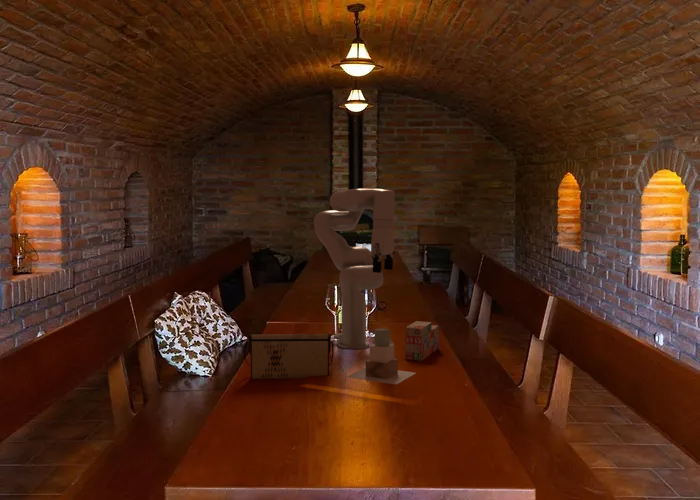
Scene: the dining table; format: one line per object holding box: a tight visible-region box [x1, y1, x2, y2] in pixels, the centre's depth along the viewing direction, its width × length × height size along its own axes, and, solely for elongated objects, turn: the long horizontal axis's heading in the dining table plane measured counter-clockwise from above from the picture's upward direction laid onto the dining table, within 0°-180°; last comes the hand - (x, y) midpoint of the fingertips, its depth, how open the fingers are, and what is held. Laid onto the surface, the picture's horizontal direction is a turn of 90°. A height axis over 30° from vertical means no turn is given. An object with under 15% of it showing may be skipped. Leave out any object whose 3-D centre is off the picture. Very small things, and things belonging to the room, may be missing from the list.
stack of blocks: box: [404, 320, 440, 362], centre depth 278 cm, size 21×6×12 cm, turn 156°
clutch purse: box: [243, 333, 335, 380], centre depth 245 cm, size 30×7×15 cm, turn 94°
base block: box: [365, 357, 399, 379], centre depth 244 cm, size 8×8×5 cm
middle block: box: [369, 343, 395, 363], centre depth 244 cm, size 6×6×5 cm
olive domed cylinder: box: [374, 328, 391, 347], centre depth 243 cm, size 5×5×5 cm
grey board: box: [346, 366, 417, 385], centre depth 244 cm, size 18×16×1 cm
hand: (382, 270), depth 269 cm, fingers open, 9 cm apart
